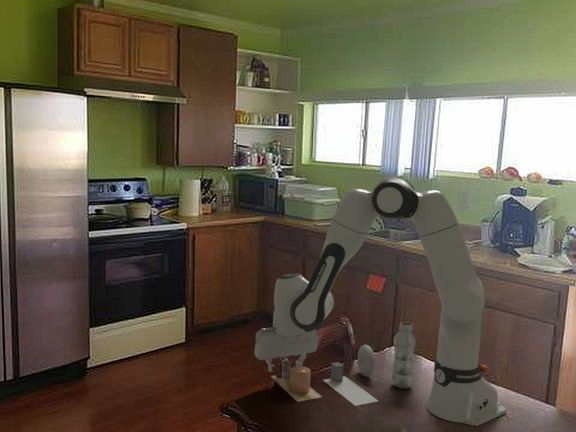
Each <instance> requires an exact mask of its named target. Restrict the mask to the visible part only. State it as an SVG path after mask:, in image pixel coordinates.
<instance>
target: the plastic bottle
mask: <svg viewBox="0 0 576 432" xmlns="http://www.w3.org/2000/svg"><path fill="white" fill-rule="evenodd" d="M398 330H399V331H398V332H397V333H396V334H395V336H394V337H393V350H394V357H393V358H394V361H393V368H392V371H391V377H390V380H391V384H392V385H393V386H394V387H395V388H397V389H402V390H403V389H404V390H406V389H410V388H411V387H412V385H413V383H414V374H413V358H414V353H415V352H414V351H415V348H416V338H415V337H414V334H413V333H412V332H413V324H412V323H410V322H406V321H405V322H404V321H403V322H400V323H399V327H398Z"/></svg>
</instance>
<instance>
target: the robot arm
mask: <svg viewBox="0 0 576 432" xmlns="http://www.w3.org/2000/svg"><path fill="white" fill-rule="evenodd" d="M380 216H381V217H382V218H385V219H388V220H389V219H391V220H393V219H394V220H397V219H410V220H412V222H413V224H414V227H415V228H416V231H417V234H418V237H419V240H420V242H421V245H422V247H423V250H424V254H425V256H426V258H427V259H426V260H427V261H428V264H429V268H430V271H431V275H432V278H433V282H434V284H435V287H436V291H437V295H438V298H439V301H440V303H441V310H440V320H439V327H438V329H439V330H438V340H437V351H436V358H435V359H434V367H433V372H434V374H433V380H432V383H431V389H430V393H429V394H428V400H427V403H426V408H427V410H428V411H429V412H430V413H431V414H432V415H434V416H436V417H438V418H440V419H443V420H446V421H450V422H454V423H461V424H466V425H470V426H475V427H478V426H480V425H483V424H485V423H487V422H489V421H491V420H493V419H496V418H497V417H500V416H502V415H504V414H505V413H507V411H506V408H505V406H504V405H503V404H502V402H499V400H498V398H499V397H498V392H497V389H496V388H495V386H493V385H492V384H491V383H490V382H489V381H487V379H485V378H484V377H483V376H482V373H484V374H488V373H489V372H490V371H489V370H490V368H489V366H487V365H485V364H479V355H480V345H481V335H482V317H483V310H484V308H485V303H486V302H485V293H484V292H485V291H484V285H483V282H482V281H481V279H480V278H479V277H478V276H477V273H476V270H475V266H474V264H473V261H472V258H471V254H470V251H469V248H468V246H467V243H466V240H465V238H464V235H463V232H462V230H461V227H460V225H459V221H458V219H457V216H456V214H455V212H454V210H453V208H452V206H451V204H450V203H449V201H448V199H447V198H446V196H445V194H443V192H441V191H439V190H435V189H431V190H424V191H421V192H419V191H417V190H416V189H415V187H414V186H413V184H412V183H410V182H409V181H408V180H407V179H404V178H399V177H389V178H387V179H385V180H383V181H381V182H380V183H378V184H377V185H376V186H375V188H373V190H372V191H369V190H367V189H365V188H361V187H360V188H352V189H350V190H348V191H347V192H346V194H345V196H344V197H343V198H342V200H341V201H340V203H339V205H338V206H337V209H336V210H335V212H334V215H333V217H332V220H331V221H330V225H329V226H328V229H327V233H326V236H325V240H324V244H323V246H322V250H321V254H320V257H319V260H318V262H317V265H316V266H315V269H314V271H313V273H312V275H311V276H310V277H311V278H310V279H309V280H308V279H306V278H305V277H304V276H303V275H302V274H300V273H296V272H294V273H293V272H291V273H286V274H282V275H281V276H279V277H278V278H277V279H276V282H275V284H274V285H275V286H274V292H273V293H274V294H273V305H274V311H273V313H272V314H273V315H272V316H273V317H272V318H273V319H272V327H267V328H266V327H265V328H260V330H258V331H257V332H256V334H255V346H254V356H255V357H256V358H257V359H258V360H260V361H263V360H265V362H266V363H267V370H268V372H270V373H273V372H275V371H276V365H274V363H272V362H273V359H276V358H277V359H278V358H285V357H290V356H291V357H292V356H297V355H300V356H299V358H298V359H297V360H295V366H303V363H304V361H305V360H306V357H307V354H310V353H315V352H316V351H317V349H318V334H317V332H316V331H317V329H318V328H320V327H321V326H322V324H323V323H324V321H325V319H326V318H327V317H328V315H329V314H330V313H331V311H333V309H334V306H335V305H334V304H335V299H334V296H333V294H332V292H331V289H332V287H333V285H334V283H335V281H336V279H337V276H338V275H339V273H340V271H341V270H342V269H343V267H345V265H346V264H347V263H348V262H349V261H350V260H351V259H352V258H353V257H354V256H355V255H356V254H357V253H358V251H359V250H360V249H361V247H362V246H363V244H364V242H365V240H366V239H367V236H368V235H369V232H370V231H371V230H370V229H371V227H372V225H373V223H374V221H376V219H377V218H379V217H380Z"/></svg>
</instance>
